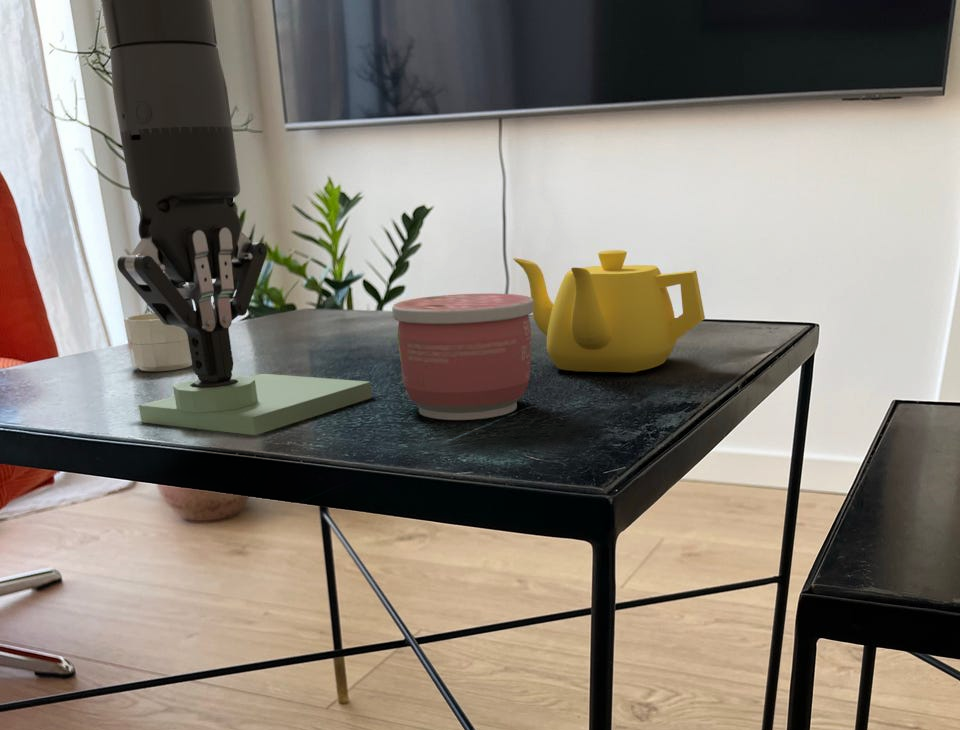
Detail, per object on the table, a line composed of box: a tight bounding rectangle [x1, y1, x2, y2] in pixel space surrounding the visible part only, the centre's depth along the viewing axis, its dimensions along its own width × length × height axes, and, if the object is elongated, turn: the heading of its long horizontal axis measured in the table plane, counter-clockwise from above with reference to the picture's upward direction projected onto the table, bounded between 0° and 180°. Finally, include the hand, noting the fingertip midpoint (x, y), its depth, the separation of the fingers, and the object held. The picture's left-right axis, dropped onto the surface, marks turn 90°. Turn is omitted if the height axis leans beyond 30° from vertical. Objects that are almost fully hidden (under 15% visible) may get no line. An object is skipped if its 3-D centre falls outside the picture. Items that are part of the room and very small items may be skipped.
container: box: [391, 293, 534, 421], centre depth 77 cm, size 10×10×8 cm
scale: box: [138, 373, 373, 436], centre depth 81 cm, size 14×12×3 cm
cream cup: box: [123, 312, 193, 373], centre depth 103 cm, size 6×6×5 cm
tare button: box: [194, 378, 235, 388], centre depth 77 cm, size 3×3×2 cm
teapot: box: [512, 249, 706, 374], centre depth 91 cm, size 14×13×10 cm
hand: (215, 380), depth 77 cm, fingers closed
